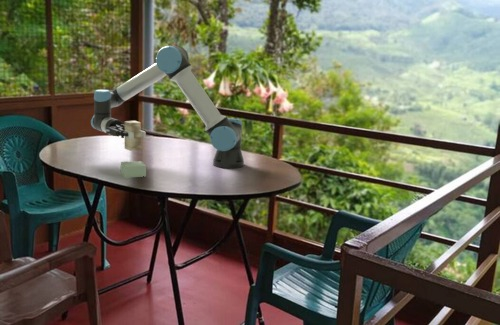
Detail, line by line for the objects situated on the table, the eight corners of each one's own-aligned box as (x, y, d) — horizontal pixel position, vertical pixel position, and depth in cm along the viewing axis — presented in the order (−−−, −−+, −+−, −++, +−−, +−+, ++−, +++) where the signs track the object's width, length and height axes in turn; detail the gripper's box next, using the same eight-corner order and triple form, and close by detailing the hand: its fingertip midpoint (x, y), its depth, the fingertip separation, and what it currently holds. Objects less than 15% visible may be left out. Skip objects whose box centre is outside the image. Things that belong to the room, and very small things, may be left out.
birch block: (134, 147, 227) (134, 120, 224) (140, 149, 224) (140, 122, 221) (124, 148, 224) (124, 121, 221) (130, 150, 220) (130, 123, 218)
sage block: (140, 171, 232) (140, 161, 231) (145, 176, 224) (145, 165, 223) (120, 173, 228) (120, 162, 227) (125, 178, 221) (125, 167, 219)
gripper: (130, 133, 242) (157, 142, 225) (94, 136, 230) (119, 146, 213) (130, 117, 240) (157, 125, 223) (94, 119, 228) (119, 128, 211)
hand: (138, 135), depth 218 cm, fingers closed on birch block, 5 cm apart
